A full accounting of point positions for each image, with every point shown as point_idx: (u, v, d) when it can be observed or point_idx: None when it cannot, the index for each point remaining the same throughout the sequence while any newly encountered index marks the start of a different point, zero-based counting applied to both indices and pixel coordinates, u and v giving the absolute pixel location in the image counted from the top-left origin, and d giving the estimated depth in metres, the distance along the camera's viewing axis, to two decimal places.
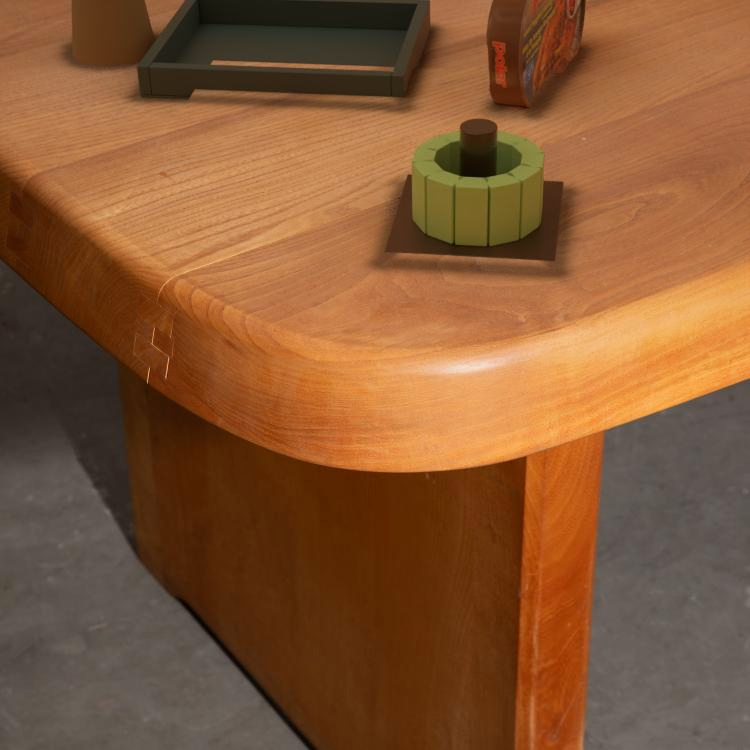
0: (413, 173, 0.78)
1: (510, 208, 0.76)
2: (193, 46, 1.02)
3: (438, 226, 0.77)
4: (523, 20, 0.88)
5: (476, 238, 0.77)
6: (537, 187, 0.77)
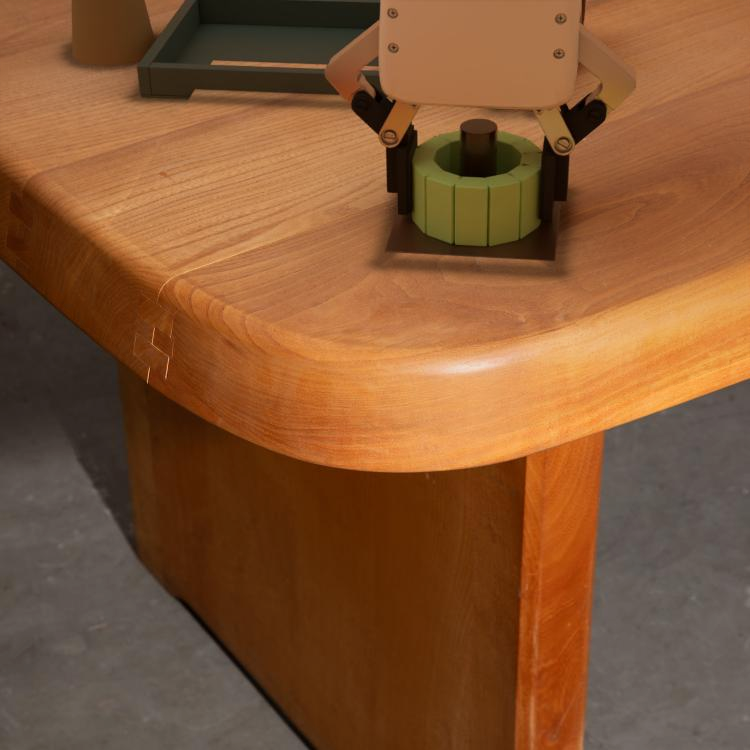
0: (413, 173, 0.78)
1: (510, 208, 0.76)
2: (193, 46, 1.02)
3: (438, 226, 0.77)
4: None
5: (476, 238, 0.77)
6: (537, 187, 0.77)
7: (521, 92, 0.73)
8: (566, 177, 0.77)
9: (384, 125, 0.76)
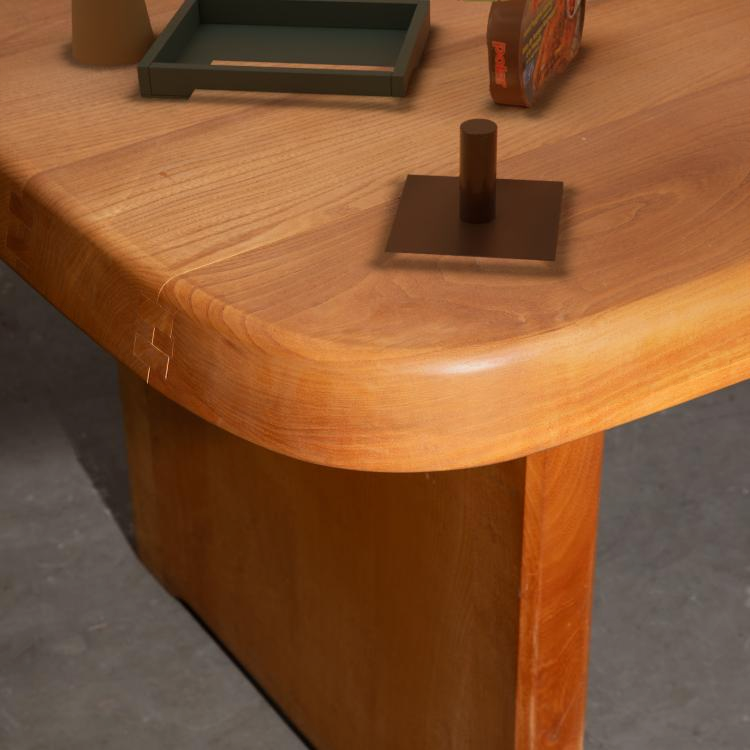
0: None
1: None
2: (193, 46, 1.02)
3: None
4: (523, 20, 0.88)
5: None
6: None
7: None
8: None
9: None
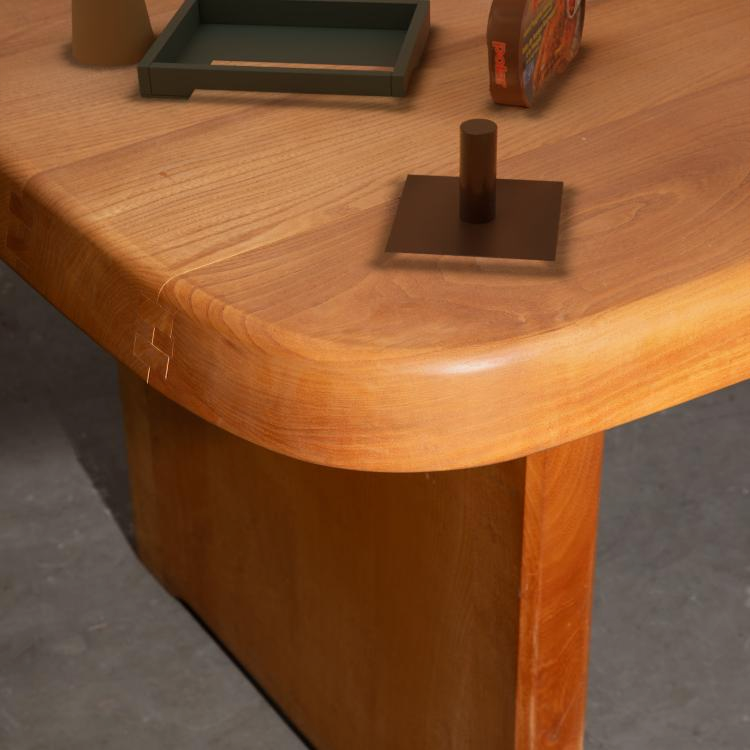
0: None
1: None
2: (193, 46, 1.02)
3: None
4: (523, 20, 0.88)
5: None
6: None
7: None
8: None
9: None
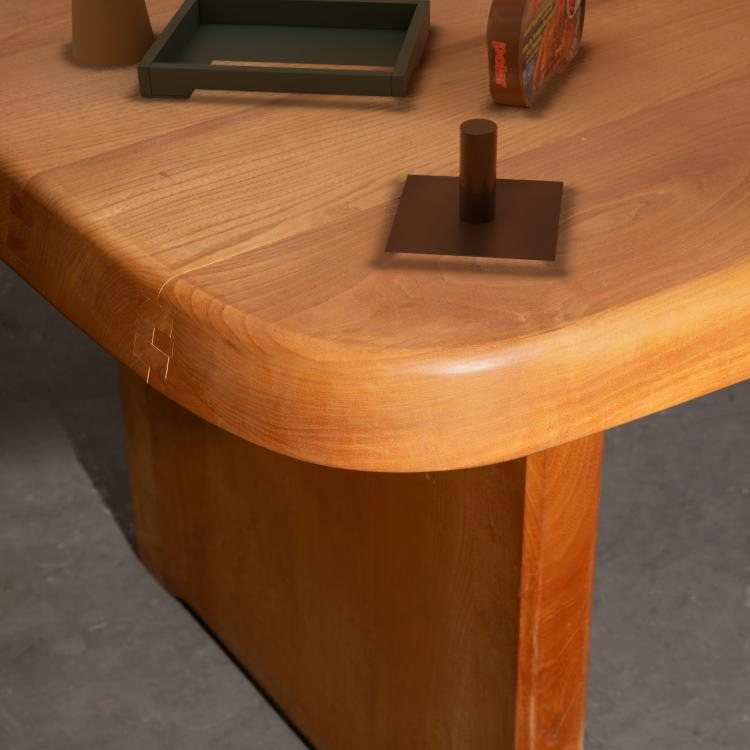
0: None
1: None
2: (193, 46, 1.02)
3: None
4: (523, 20, 0.88)
5: None
6: None
7: None
8: None
9: None
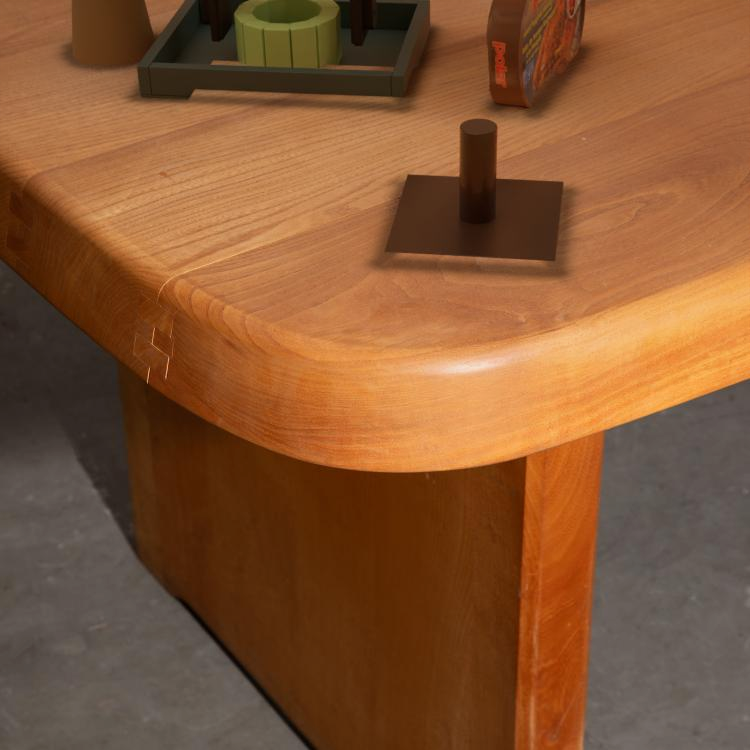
0: (235, 23, 0.98)
1: (308, 48, 0.96)
2: (193, 46, 1.02)
3: (254, 64, 0.97)
4: (523, 20, 0.88)
5: None
6: (332, 33, 0.97)
7: None
8: (371, 8, 0.96)
9: None
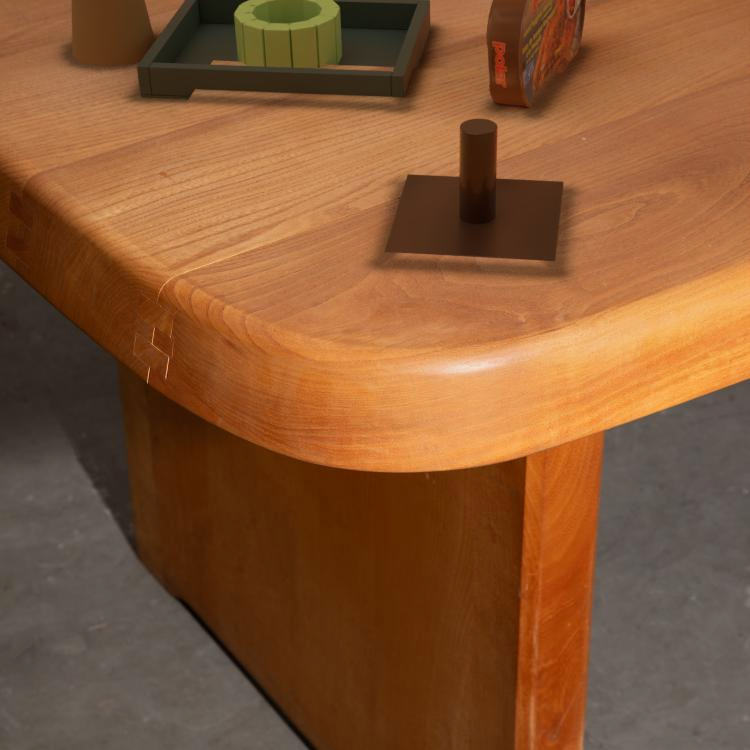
0: (235, 23, 0.98)
1: (308, 48, 0.96)
2: (193, 46, 1.02)
3: (254, 64, 0.97)
4: (523, 20, 0.88)
5: None
6: (332, 33, 0.97)
7: None
8: None
9: None
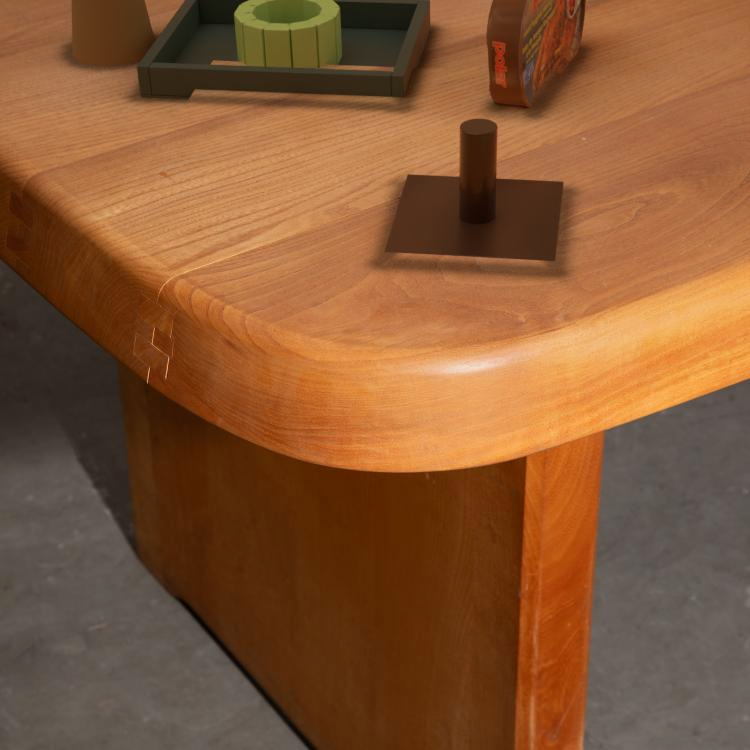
0: (235, 23, 0.98)
1: (308, 48, 0.96)
2: (193, 46, 1.02)
3: (254, 64, 0.97)
4: (523, 20, 0.88)
5: None
6: (332, 33, 0.97)
7: None
8: None
9: None
